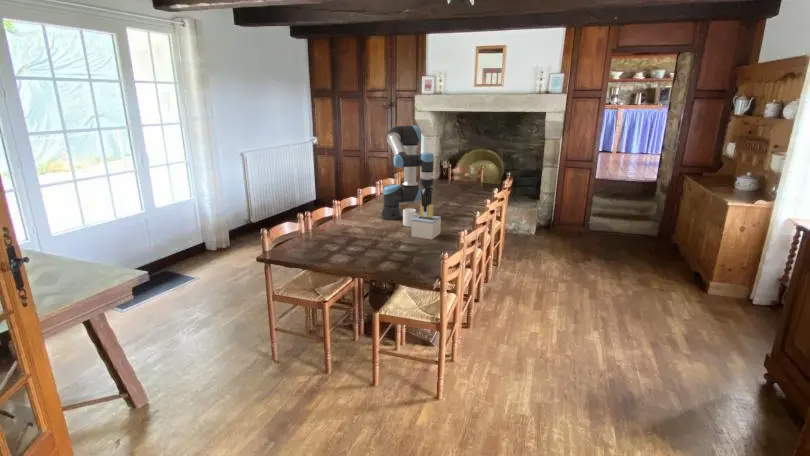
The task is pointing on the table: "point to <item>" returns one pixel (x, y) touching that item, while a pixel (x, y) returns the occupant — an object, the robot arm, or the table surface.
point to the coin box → (426, 227)
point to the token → (430, 210)
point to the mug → (408, 217)
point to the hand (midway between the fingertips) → (426, 215)
